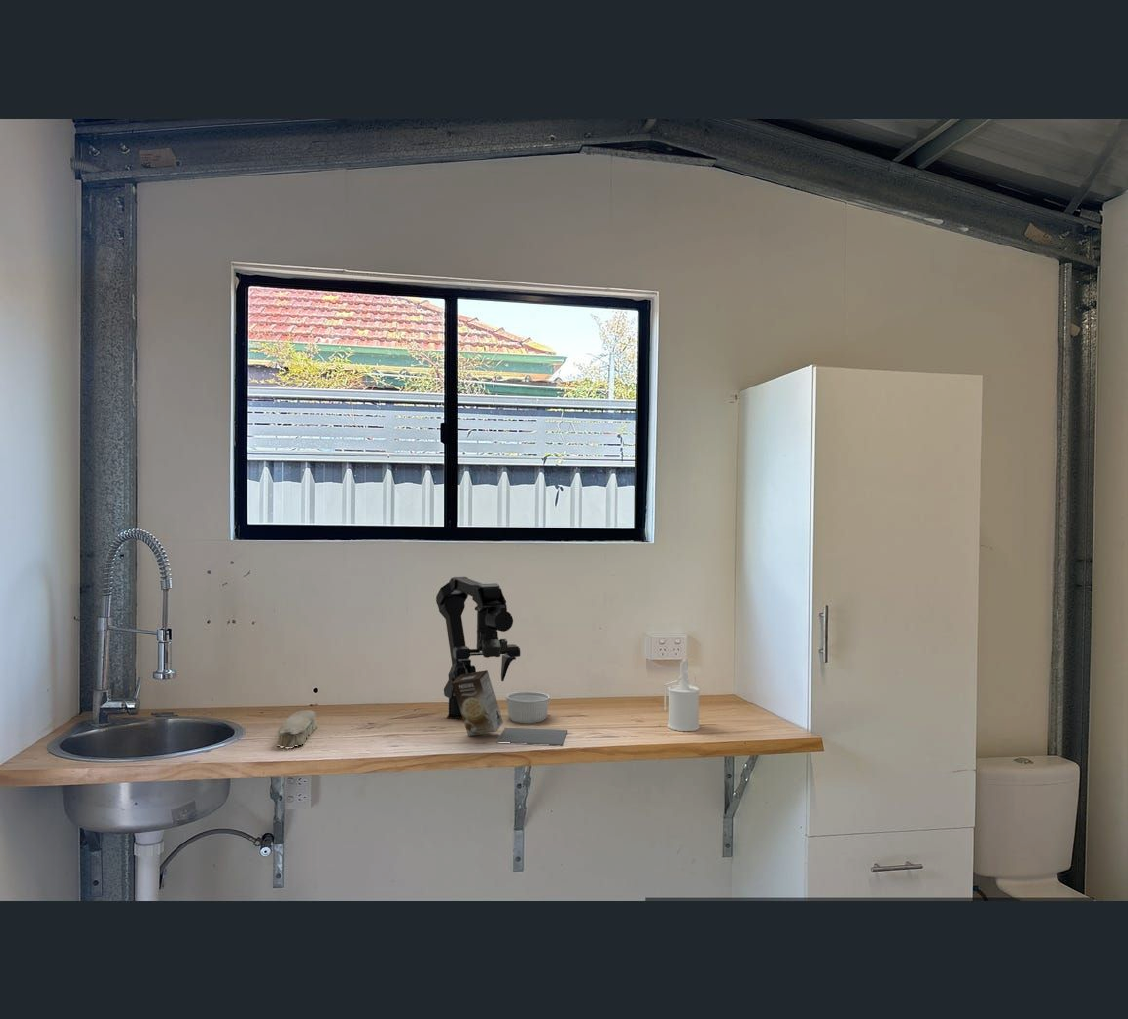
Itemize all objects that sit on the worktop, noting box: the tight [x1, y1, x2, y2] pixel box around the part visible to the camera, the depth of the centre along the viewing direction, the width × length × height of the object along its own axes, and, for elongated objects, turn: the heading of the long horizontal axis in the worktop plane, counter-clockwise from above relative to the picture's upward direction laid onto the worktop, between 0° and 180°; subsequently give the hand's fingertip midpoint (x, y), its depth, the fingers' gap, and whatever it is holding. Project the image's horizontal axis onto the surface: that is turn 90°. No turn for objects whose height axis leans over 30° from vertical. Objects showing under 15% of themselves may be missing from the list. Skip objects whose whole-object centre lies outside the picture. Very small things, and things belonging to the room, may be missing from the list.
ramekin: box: [505, 691, 551, 724], centre depth 235 cm, size 13×13×7 cm
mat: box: [495, 727, 568, 746], centre depth 216 cm, size 18×14×1 cm
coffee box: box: [452, 669, 504, 737], centre depth 216 cm, size 9×6×16 cm
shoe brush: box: [276, 709, 318, 748], centre depth 214 cm, size 24×8×5 cm, turn 8°
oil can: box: [663, 658, 701, 733], centre depth 228 cm, size 10×9×20 cm
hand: (486, 681), depth 223 cm, fingers open, 9 cm apart
